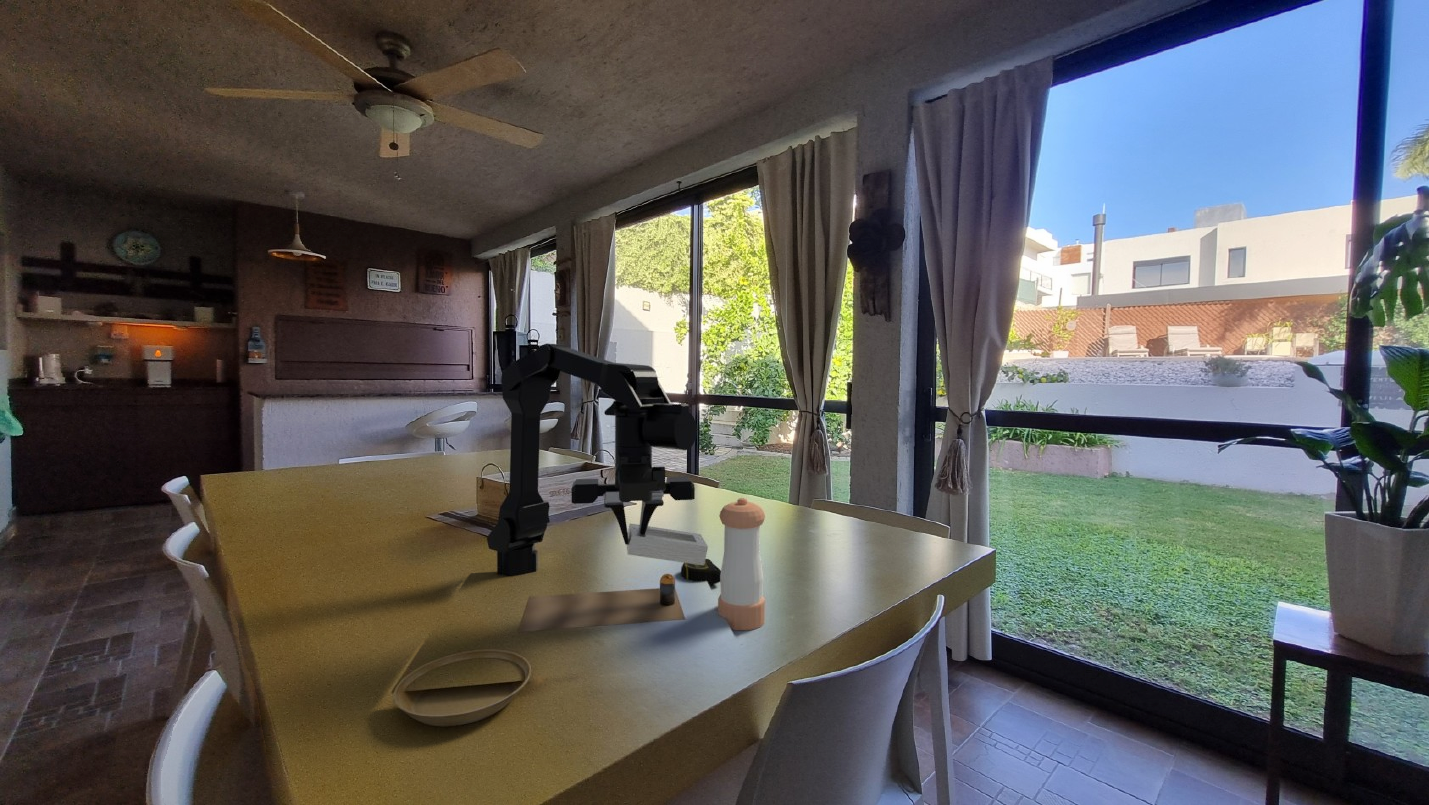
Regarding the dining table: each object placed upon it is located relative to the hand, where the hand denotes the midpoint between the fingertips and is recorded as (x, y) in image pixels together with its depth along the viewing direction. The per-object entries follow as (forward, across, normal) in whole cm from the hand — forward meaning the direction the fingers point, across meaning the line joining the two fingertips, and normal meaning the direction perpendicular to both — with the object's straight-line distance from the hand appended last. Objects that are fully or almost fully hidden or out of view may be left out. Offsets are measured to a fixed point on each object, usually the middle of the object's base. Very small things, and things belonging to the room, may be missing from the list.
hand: (633, 543), depth 90 cm
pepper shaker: (+12, +16, -5) cm, 21 cm away
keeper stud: (+10, +5, 0) cm, 11 cm away
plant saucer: (+12, -21, -20) cm, 31 cm away
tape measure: (+12, +13, +12) cm, 22 cm away
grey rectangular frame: (+2, +5, 0) cm, 5 cm away
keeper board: (+11, -5, 0) cm, 12 cm away
